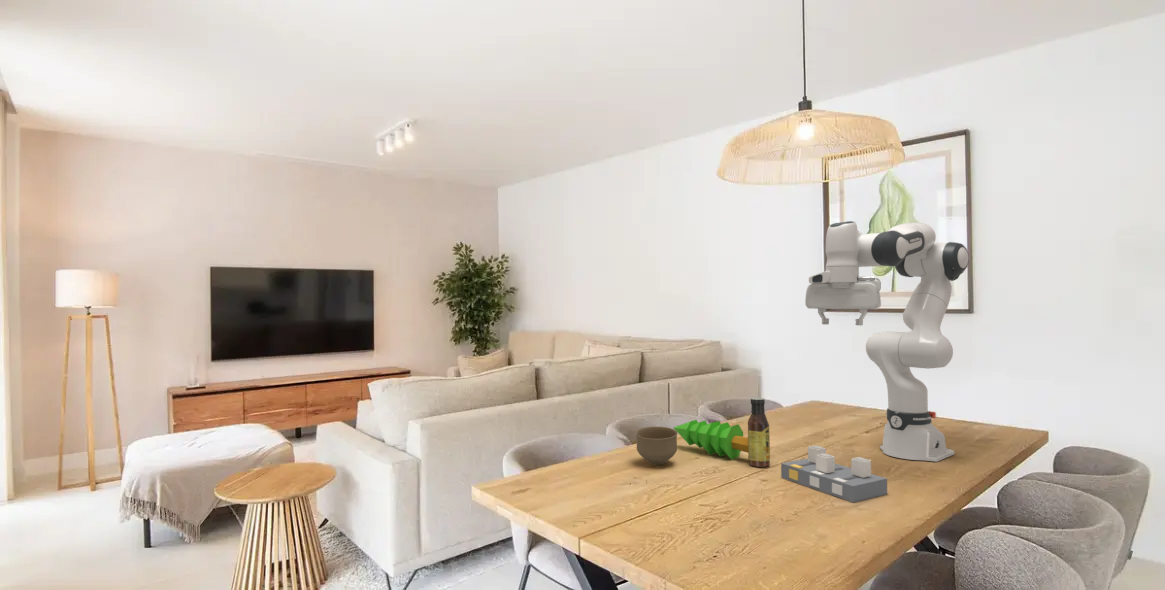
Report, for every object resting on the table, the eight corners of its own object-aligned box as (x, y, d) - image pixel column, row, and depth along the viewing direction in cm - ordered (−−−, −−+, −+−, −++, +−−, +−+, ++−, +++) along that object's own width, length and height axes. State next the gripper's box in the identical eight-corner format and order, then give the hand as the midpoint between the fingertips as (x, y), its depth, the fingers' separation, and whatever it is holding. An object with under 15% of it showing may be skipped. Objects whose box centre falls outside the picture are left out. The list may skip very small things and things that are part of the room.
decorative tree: (750, 423, 178) (668, 407, 199) (741, 461, 175) (659, 440, 196) (766, 432, 186) (686, 415, 207) (758, 468, 183) (678, 448, 204)
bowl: (630, 467, 176) (630, 433, 176) (642, 456, 187) (642, 425, 188) (672, 471, 171) (672, 437, 171) (681, 460, 183) (681, 428, 183)
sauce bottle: (771, 468, 173) (770, 400, 174) (749, 467, 175) (748, 400, 175) (768, 462, 180) (767, 397, 180) (747, 461, 181) (746, 396, 181)
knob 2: (823, 468, 159) (823, 452, 159) (834, 471, 156) (834, 455, 156) (815, 470, 158) (815, 454, 158) (826, 473, 154) (826, 457, 155)
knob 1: (815, 459, 168) (815, 444, 168) (825, 462, 164) (825, 447, 164) (808, 461, 166) (807, 446, 166) (818, 464, 163) (818, 448, 163)
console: (813, 471, 171) (813, 456, 171) (887, 494, 151) (887, 477, 151) (780, 477, 165) (780, 462, 165) (852, 502, 145) (852, 485, 145)
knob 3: (859, 472, 155) (859, 456, 155) (871, 476, 152) (870, 459, 152) (851, 474, 154) (851, 458, 154) (863, 477, 151) (863, 461, 151)
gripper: (884, 276, 167) (884, 325, 167) (811, 278, 180) (811, 323, 180) (877, 275, 162) (877, 326, 162) (803, 277, 176) (803, 324, 176)
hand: (841, 324), depth 171 cm, fingers open, 8 cm apart
